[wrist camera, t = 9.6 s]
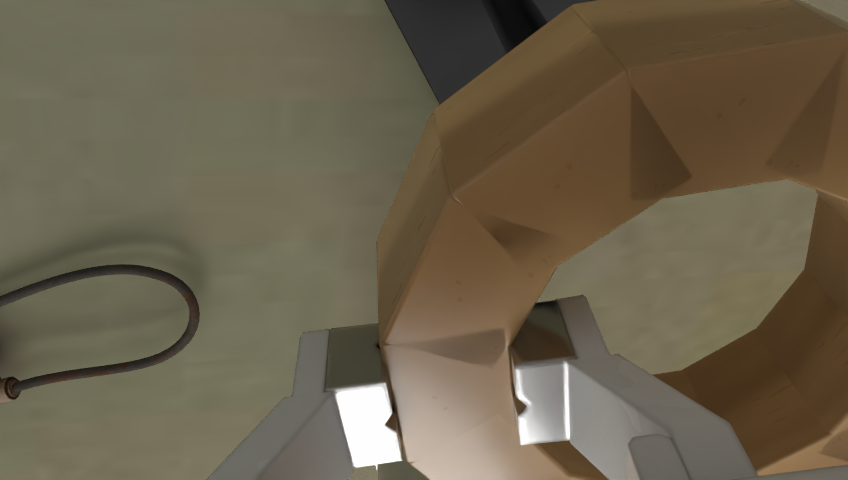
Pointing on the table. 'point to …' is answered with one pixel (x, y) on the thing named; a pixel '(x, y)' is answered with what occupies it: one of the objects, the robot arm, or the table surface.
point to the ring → (618, 220)
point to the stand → (467, 34)
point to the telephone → (12, 387)
